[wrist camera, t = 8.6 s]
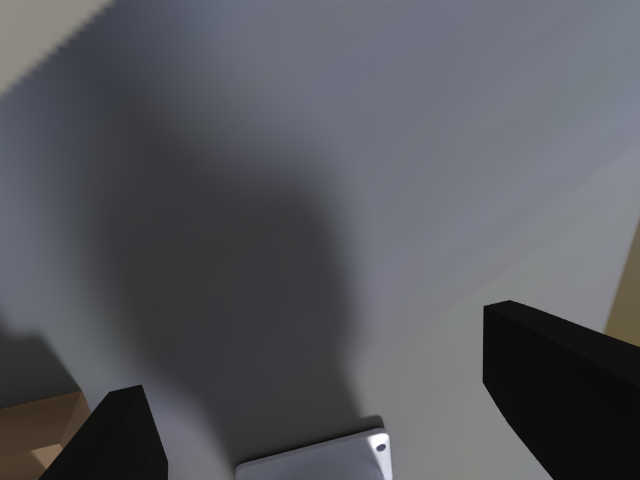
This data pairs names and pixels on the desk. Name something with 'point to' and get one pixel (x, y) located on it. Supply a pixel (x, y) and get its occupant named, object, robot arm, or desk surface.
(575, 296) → the desk surface
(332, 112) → the desk surface
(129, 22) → the desk surface
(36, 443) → the brown square box
